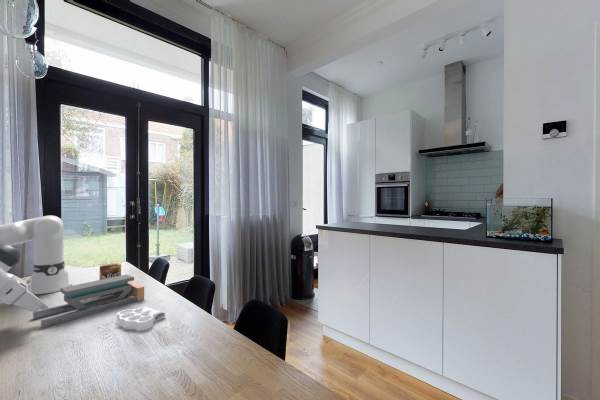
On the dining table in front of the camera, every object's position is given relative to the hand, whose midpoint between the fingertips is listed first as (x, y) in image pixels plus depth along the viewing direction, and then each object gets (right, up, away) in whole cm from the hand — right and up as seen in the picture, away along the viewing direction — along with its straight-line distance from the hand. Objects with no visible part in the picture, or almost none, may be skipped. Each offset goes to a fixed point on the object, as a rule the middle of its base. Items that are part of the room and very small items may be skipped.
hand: (45, 308), depth 105 cm
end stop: (+18, -5, +26) cm, 32 cm away
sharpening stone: (+10, -5, +14) cm, 19 cm away
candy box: (+5, -5, +29) cm, 30 cm away
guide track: (+8, -5, +12) cm, 15 cm away
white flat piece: (+36, -6, 0) cm, 37 cm away
